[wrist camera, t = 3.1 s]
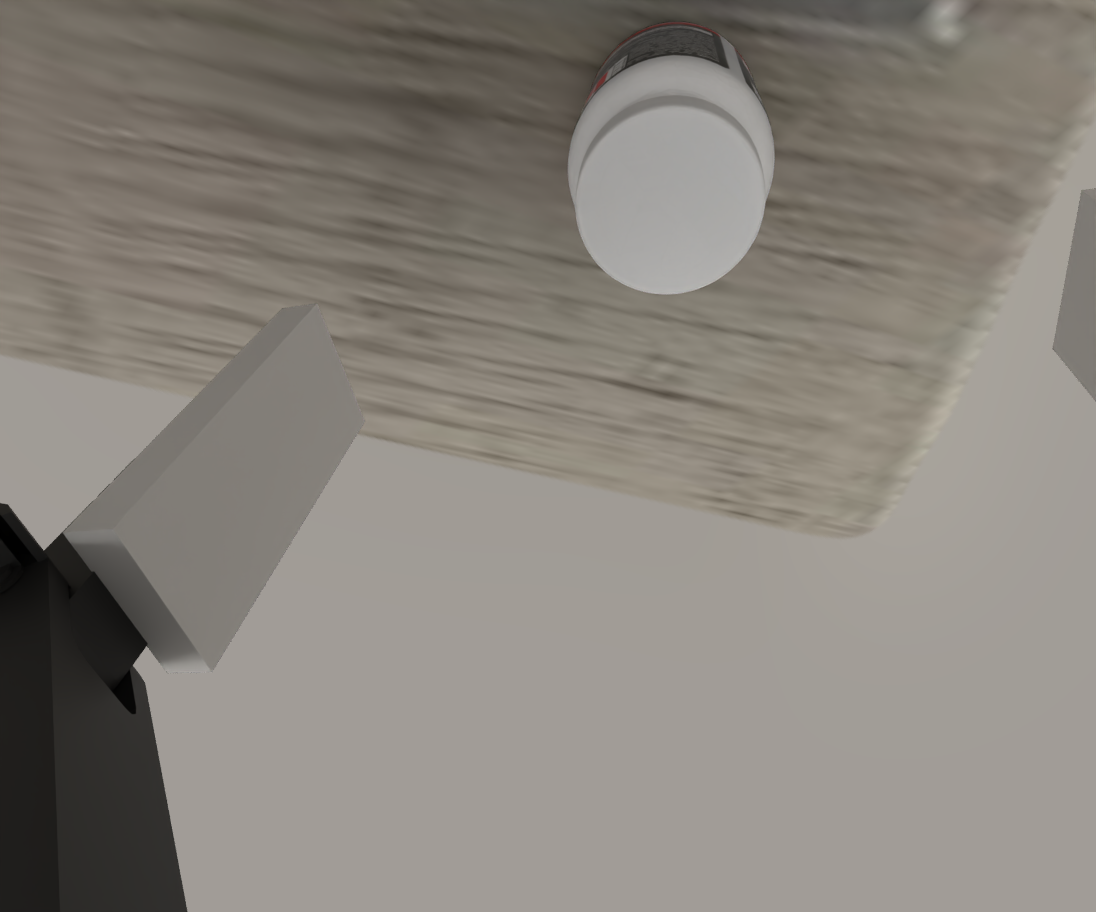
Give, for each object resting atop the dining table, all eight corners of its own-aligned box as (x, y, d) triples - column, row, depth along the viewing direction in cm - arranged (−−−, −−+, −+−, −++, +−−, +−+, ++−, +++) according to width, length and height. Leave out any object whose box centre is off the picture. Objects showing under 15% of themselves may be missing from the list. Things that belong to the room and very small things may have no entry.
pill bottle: (559, 141, 28) (511, 240, 20) (647, -19, 24) (630, 24, 16) (690, 223, 29) (694, 349, 21) (791, 81, 25) (840, 166, 18)
